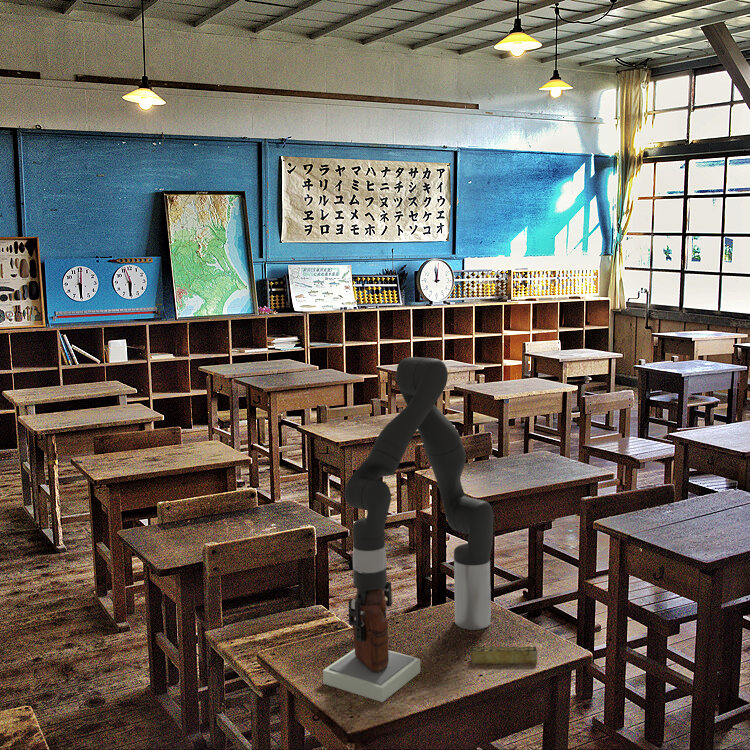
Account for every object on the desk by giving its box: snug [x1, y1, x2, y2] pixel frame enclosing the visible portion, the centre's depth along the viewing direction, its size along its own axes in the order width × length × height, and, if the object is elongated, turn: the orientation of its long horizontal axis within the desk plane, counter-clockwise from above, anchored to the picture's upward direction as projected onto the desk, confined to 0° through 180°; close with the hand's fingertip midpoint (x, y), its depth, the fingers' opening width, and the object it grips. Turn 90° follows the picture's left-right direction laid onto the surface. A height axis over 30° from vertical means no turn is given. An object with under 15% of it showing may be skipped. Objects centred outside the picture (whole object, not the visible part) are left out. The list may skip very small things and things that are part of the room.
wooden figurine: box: [352, 589, 389, 671], centre depth 198 cm, size 12×6×18 cm, turn 28°
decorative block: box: [470, 646, 538, 664], centre depth 206 cm, size 15×2×4 cm, turn 87°
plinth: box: [322, 648, 421, 703], centre depth 199 cm, size 16×16×4 cm
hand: (371, 634), depth 198 cm, fingers closed on wooden figurine, 8 cm apart
